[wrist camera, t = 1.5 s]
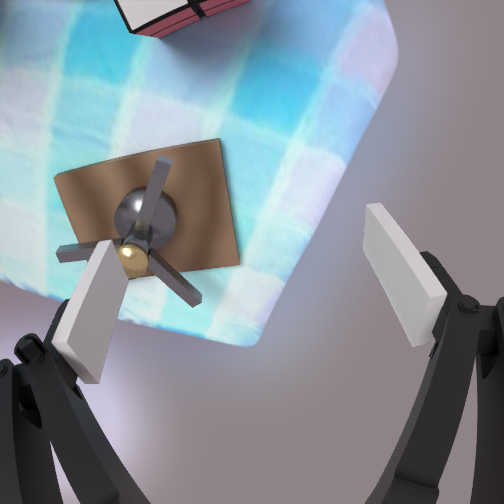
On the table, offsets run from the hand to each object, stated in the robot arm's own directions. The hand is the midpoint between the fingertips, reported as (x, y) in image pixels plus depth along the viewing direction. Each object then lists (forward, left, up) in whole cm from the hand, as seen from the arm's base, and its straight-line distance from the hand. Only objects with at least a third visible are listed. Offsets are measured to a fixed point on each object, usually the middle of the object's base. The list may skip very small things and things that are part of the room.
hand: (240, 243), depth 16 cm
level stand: (-12, -8, -21) cm, 25 cm away
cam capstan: (-10, -7, -19) cm, 23 cm away
